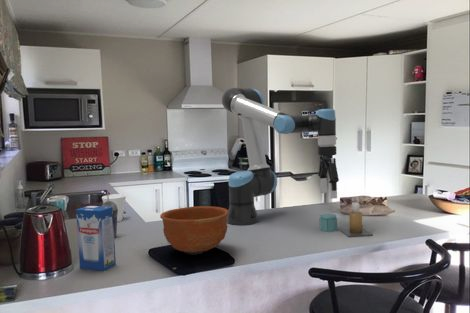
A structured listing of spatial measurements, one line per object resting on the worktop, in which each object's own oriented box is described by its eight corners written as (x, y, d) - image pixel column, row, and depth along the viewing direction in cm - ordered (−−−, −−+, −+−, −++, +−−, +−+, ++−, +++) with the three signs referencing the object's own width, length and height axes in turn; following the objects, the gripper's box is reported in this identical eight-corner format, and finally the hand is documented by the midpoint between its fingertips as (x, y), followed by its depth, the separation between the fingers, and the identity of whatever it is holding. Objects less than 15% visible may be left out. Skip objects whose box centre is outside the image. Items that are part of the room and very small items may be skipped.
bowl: (172, 269, 131) (169, 223, 130) (155, 248, 154) (153, 209, 152) (241, 256, 141) (239, 214, 139) (215, 239, 163) (214, 202, 162)
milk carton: (79, 268, 135) (75, 209, 133) (92, 262, 140) (88, 205, 139) (104, 271, 131) (100, 210, 129) (116, 264, 137) (112, 206, 135)
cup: (130, 220, 201) (129, 196, 200) (107, 224, 194) (105, 199, 194) (123, 216, 211) (121, 193, 210) (100, 220, 204) (98, 196, 203)
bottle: (348, 237, 159) (347, 205, 158) (339, 230, 169) (339, 201, 168) (372, 235, 160) (372, 204, 159) (362, 229, 170) (362, 200, 169)
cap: (323, 231, 168) (322, 217, 168) (318, 227, 175) (318, 214, 175) (338, 230, 169) (338, 216, 168) (333, 226, 176) (333, 213, 175)
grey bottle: (103, 240, 166) (100, 193, 165) (100, 236, 173) (97, 190, 171) (121, 238, 170) (118, 191, 168) (117, 234, 176) (115, 189, 175)
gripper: (346, 146, 157) (347, 200, 158) (326, 144, 182) (328, 190, 183) (327, 147, 156) (328, 201, 158) (310, 145, 181) (312, 191, 183)
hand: (328, 195), depth 171 cm, fingers open, 13 cm apart
